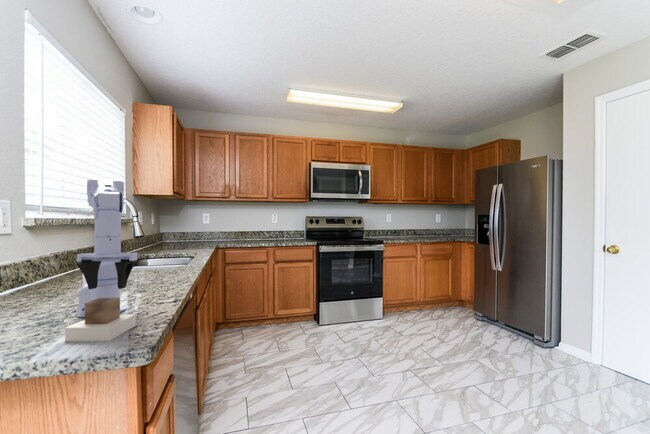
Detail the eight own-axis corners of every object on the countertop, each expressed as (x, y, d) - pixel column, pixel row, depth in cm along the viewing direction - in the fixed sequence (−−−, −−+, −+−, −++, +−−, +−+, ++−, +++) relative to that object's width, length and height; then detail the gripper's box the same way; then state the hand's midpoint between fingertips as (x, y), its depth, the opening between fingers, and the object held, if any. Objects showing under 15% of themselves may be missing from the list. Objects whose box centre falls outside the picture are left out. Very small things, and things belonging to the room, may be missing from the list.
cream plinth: (64, 343, 69) (65, 327, 69) (96, 327, 79) (97, 314, 79) (109, 342, 69) (109, 327, 69) (135, 327, 79) (135, 314, 79)
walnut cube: (84, 324, 72) (84, 303, 72) (99, 317, 77) (99, 297, 77) (106, 323, 72) (106, 302, 72) (119, 317, 77) (119, 297, 77)
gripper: (67, 237, 76) (66, 292, 76) (125, 237, 76) (125, 291, 76) (89, 236, 83) (88, 286, 83) (142, 236, 83) (141, 285, 83)
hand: (107, 288), depth 80 cm, fingers open, 7 cm apart
